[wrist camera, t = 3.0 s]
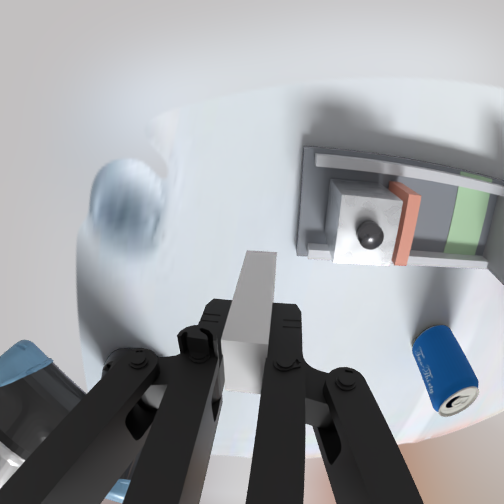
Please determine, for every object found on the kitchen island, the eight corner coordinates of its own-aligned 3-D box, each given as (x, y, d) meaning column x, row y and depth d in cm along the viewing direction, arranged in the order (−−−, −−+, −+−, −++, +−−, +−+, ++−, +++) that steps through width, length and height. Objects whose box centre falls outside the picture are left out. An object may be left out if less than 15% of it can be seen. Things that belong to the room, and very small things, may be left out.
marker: (379, 242, 28) (394, 265, 24) (389, 180, 25) (409, 194, 21) (389, 243, 28) (406, 265, 24) (400, 182, 25) (421, 195, 21)
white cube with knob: (324, 234, 28) (334, 268, 22) (330, 178, 26) (344, 198, 20) (372, 237, 28) (393, 271, 22) (380, 183, 26) (407, 205, 19)
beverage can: (419, 321, 34) (451, 389, 23) (455, 320, 33) (490, 381, 23) (404, 356, 37) (427, 422, 26) (439, 354, 36) (466, 414, 25)
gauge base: (296, 250, 31) (299, 293, 24) (303, 145, 27) (311, 156, 19) (496, 263, 29) (529, 296, 22) (516, 184, 24) (558, 205, 17)
